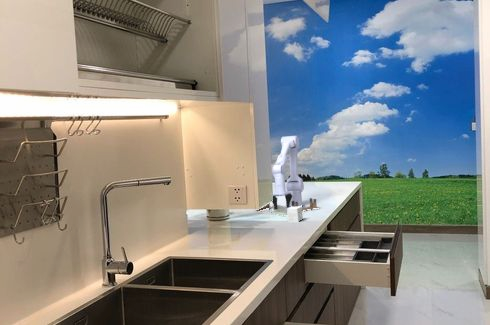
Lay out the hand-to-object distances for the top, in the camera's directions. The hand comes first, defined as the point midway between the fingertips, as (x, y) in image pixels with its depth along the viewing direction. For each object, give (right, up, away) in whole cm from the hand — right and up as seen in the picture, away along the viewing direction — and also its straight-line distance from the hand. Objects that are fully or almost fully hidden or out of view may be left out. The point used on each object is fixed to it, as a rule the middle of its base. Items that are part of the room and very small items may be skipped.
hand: (282, 208), depth 294 cm
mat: (0, -3, 0) cm, 3 cm away
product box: (+5, -5, -28) cm, 29 cm away
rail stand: (+14, -2, +4) cm, 14 cm away
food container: (-12, -3, +17) cm, 21 cm away
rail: (0, -2, +1) cm, 2 cm away
